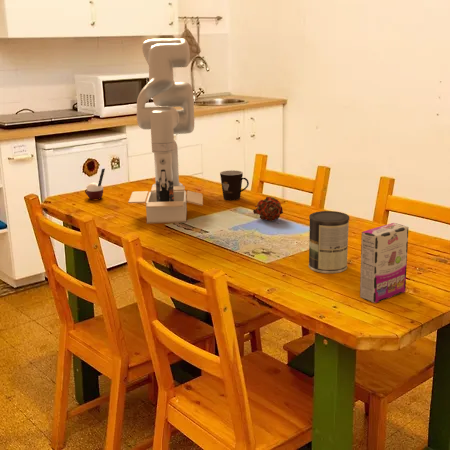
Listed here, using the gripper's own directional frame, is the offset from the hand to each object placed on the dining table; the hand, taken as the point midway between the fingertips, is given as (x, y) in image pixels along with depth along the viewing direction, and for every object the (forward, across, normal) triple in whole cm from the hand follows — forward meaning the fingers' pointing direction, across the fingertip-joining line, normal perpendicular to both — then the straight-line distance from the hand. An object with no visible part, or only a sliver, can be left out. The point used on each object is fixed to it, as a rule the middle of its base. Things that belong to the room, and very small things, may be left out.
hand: (165, 198), depth 219 cm
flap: (-1, 0, -7) cm, 7 cm away
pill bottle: (+3, 0, 0) cm, 3 cm away
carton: (+6, 0, +2) cm, 7 cm away
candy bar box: (+7, -74, -54) cm, 93 cm away
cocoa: (+6, +28, +28) cm, 41 cm away
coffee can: (+7, -54, -46) cm, 71 cm away
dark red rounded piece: (+7, -8, -34) cm, 36 cm away
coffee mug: (+6, +22, -24) cm, 33 cm away
